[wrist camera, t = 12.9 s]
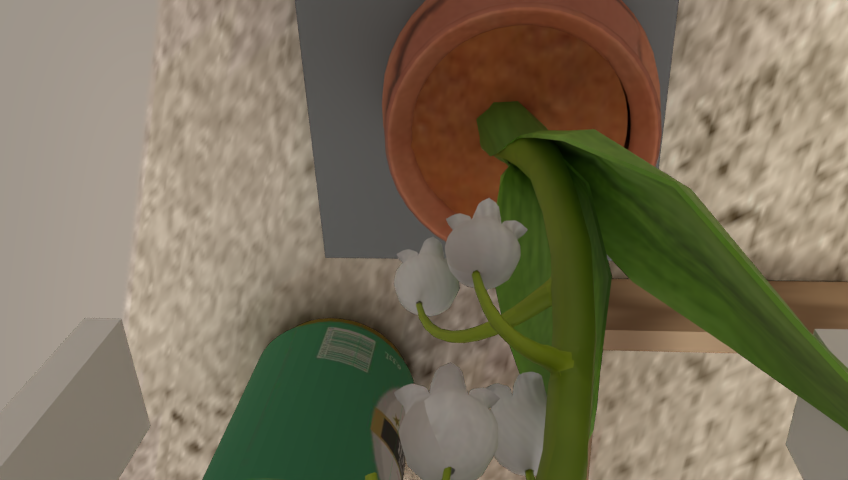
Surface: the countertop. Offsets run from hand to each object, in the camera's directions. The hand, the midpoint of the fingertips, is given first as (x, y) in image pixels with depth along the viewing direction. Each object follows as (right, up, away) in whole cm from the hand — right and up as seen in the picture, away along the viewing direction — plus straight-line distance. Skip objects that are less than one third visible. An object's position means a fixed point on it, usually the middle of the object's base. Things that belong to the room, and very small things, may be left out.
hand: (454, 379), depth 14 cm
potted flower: (+2, +8, +14) cm, 17 cm away
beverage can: (-5, -4, +23) cm, 24 cm away
